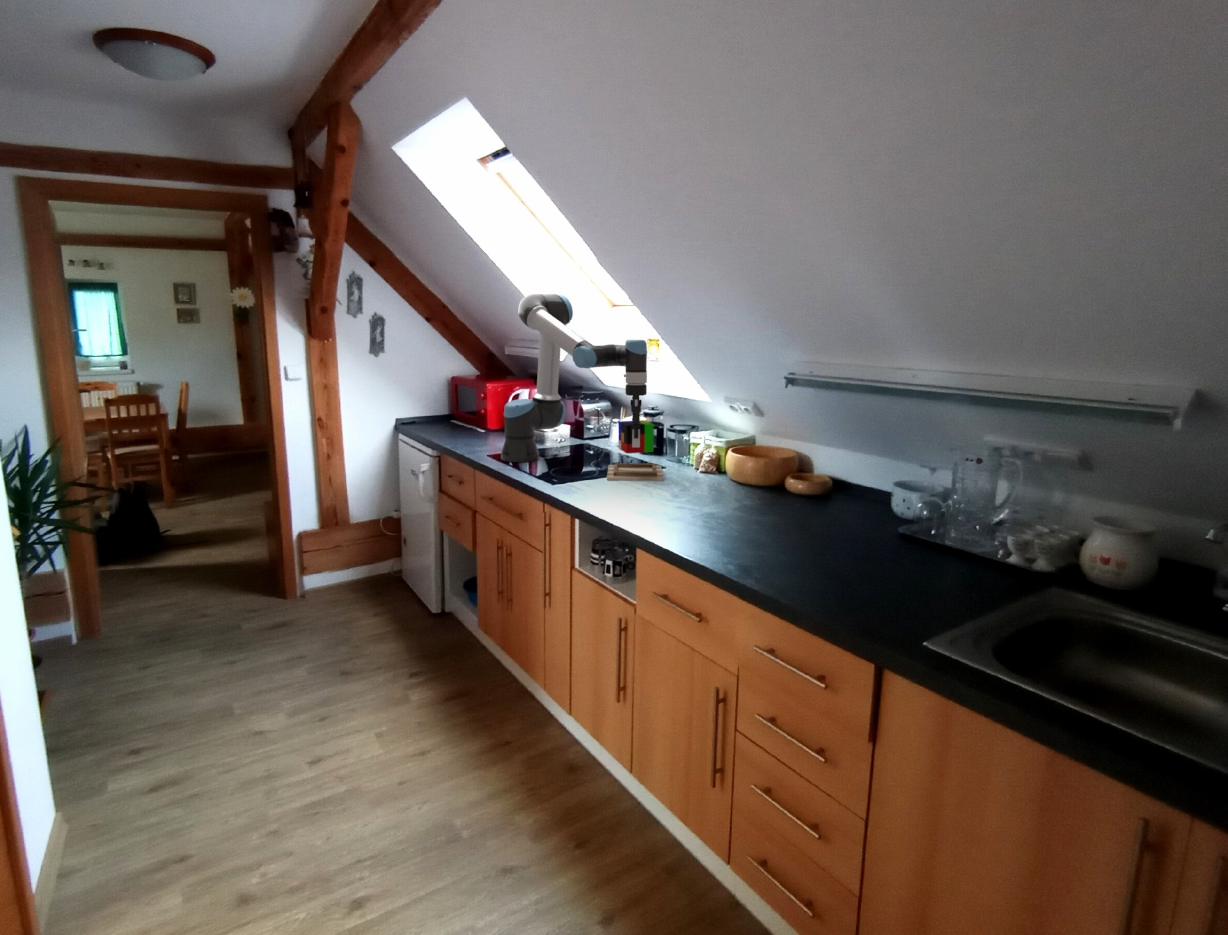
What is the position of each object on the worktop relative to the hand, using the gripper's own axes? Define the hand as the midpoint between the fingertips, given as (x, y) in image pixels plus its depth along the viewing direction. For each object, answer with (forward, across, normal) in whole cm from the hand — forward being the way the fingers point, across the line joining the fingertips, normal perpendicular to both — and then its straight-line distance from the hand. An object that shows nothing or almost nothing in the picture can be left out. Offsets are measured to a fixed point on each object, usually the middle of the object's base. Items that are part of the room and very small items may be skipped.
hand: (635, 444), depth 253 cm
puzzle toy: (+2, 0, 0) cm, 2 cm away
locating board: (+11, 0, 0) cm, 11 cm away
